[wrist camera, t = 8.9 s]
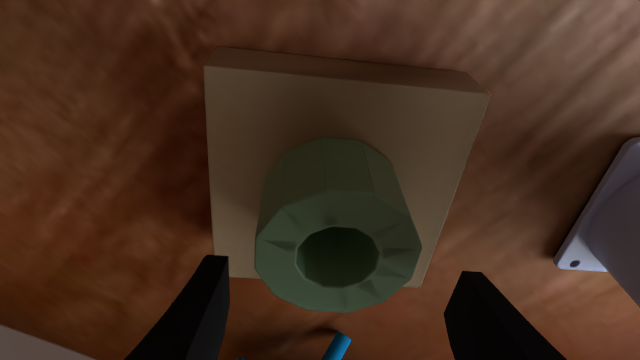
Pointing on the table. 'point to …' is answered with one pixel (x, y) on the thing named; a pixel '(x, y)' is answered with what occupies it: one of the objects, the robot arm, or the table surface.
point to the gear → (334, 347)
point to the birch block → (332, 134)
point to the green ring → (334, 228)
